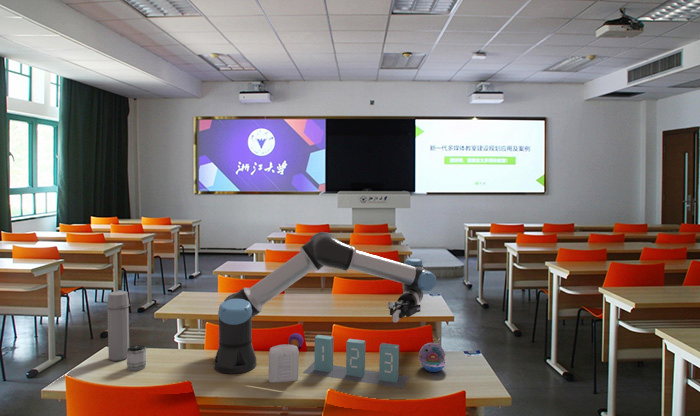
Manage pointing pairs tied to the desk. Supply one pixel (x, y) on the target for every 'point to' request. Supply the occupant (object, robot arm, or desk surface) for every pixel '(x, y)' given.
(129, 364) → the camera lens
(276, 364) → the photo printer
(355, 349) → the tile
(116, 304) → the water bottle
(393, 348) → the tile
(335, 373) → the mat
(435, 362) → the cell model
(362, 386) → the desk surface
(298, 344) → the kendama
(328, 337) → the tile
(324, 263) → the robot arm
